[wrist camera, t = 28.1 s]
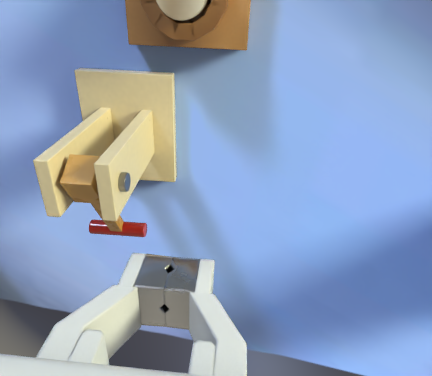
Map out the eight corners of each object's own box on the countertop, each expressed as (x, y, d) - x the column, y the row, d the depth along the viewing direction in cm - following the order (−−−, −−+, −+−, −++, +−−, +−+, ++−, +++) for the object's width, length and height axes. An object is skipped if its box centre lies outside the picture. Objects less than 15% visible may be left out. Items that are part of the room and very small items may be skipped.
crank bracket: (176, 177, 37) (147, 259, 25) (95, 171, 37) (30, 250, 25) (174, 72, 31) (135, 116, 20) (79, 67, 32) (-14, 107, 20)
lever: (148, 221, 33) (144, 244, 32) (96, 217, 33) (90, 240, 32) (121, 156, 23) (113, 186, 22) (48, 152, 24) (36, 181, 22)
